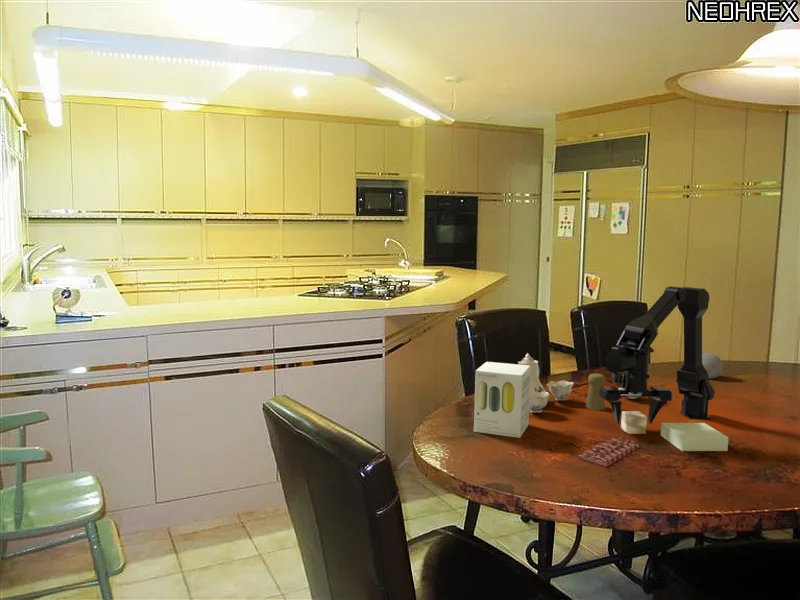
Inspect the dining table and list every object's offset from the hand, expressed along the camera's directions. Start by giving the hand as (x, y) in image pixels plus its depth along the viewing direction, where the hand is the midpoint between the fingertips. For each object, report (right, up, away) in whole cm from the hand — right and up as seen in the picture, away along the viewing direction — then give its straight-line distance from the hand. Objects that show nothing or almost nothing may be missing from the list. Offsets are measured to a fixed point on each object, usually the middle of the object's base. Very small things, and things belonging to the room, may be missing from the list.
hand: (633, 423), depth 176 cm
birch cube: (0, -2, 0) cm, 2 cm away
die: (+12, +1, +33) cm, 35 cm away
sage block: (+12, -4, -9) cm, 16 cm away
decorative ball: (+52, +4, +64) cm, 83 cm away
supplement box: (-37, -2, +1) cm, 37 cm away
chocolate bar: (-13, -5, -17) cm, 22 cm away
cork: (-4, 0, +22) cm, 22 cm away
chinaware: (-22, +1, +24) cm, 32 cm away
